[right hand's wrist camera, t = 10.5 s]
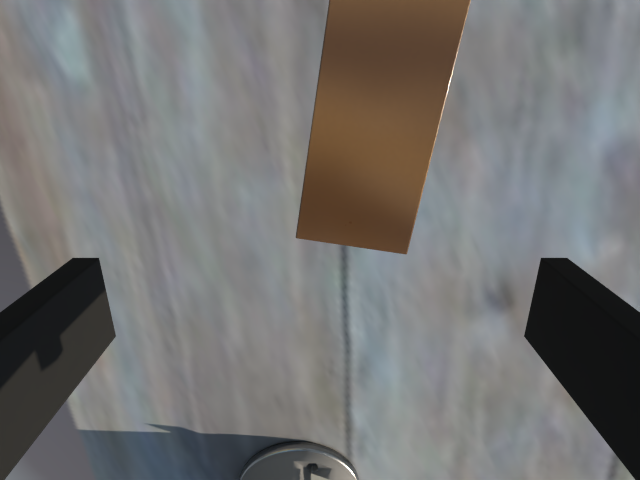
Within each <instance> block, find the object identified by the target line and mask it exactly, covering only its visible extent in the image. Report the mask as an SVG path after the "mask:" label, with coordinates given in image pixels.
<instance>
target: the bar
mask: <svg viewBox="0 0 640 480" xmlns="http://www.w3.org/2000/svg"><path fill="white" fill-rule="evenodd" d="M470 1H471V0H329V7H328V14H327V21H326V28H325V35H324V42H323V49H322V56H321V63H320V70H319V77H318V84H317V91H316V98H315V105H314V112H313V119H312V126H311V133H310V141H309V148H308V155H307V162H306V169H305V176H304V183H303V190H302V197H301V204H300V211H299V218H298V225H297V232H296V238H299V239H306V240H313V241H320V242H326V243H333V244H340V245H347V246H353V247H360V248H367V249H374V250H380V251H387V252H394V253H401V254H407V251H408V247H409V243H410V239H411V235H412V231H413V228H414V224H415V220H416V216H417V212H418V208H419V204H420V200H421V196H422V192H423V188H424V184H425V180H426V176H427V172H428V168H429V164H430V160H431V156H432V152H433V148H434V144H435V140H436V136H437V132H438V128H439V124H440V120H441V116H442V113H443V109H444V105H445V101H446V97H447V93H448V89H449V85H450V81H451V77H452V73H453V69H454V65H455V61H456V57H457V53H458V49H459V45H460V41H461V37H462V33H463V29H464V25H465V21H466V17H467V13H468V9H469V5H470Z"/></svg>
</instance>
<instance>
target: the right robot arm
mask: <svg viewBox="0 0 640 480" xmlns="http://www.w3.org/2000/svg"><path fill="white" fill-rule="evenodd" d="M115 337H116V335H115V330H114V326H113V321H112V317H111V312H110V307H109V303H108V298H107V293H106V289H105V284H104V280H103V275H102V270H101V266H100V261H99V258H72V259H71V260H70V261H68V262H67V263H66V264H64V265H63V266H62V267H60V268H59V269H58V270H56V271H55V272H54V273H52V274H51V275H50V276H48V277H47V278H46V279H44V280H43V281H42V282H40V283H39V284H38V285H36V286H35V287H34V288H32V289H31V290H30V291H28V292H27V293H26V294H24V295H23V296H22V297H20V298H19V299H18V300H16V301H15V302H14V303H12V304H11V305H10V306H8V307H7V308H6V309H4V310H3V311H2V312H0V480H5V478H6V477H7V476H8V474H9V473H10V472H11V471H12V469H13V468H14V467H15V465H16V464H17V463H18V462H19V460H20V459H21V458H22V456H23V455H24V454H25V453H26V451H27V450H28V449H29V447H30V446H31V445H32V444H33V442H34V441H35V440H36V438H37V437H38V436H39V435H40V433H41V432H42V431H43V429H44V428H45V427H46V426H47V424H48V423H49V422H50V420H51V419H52V418H53V417H54V415H55V414H56V413H57V411H58V410H59V409H60V408H61V406H62V405H63V404H64V402H65V401H66V400H67V398H68V397H69V396H70V395H71V393H72V392H73V391H74V389H75V388H76V387H77V386H78V384H79V383H80V382H81V380H82V379H83V378H84V377H85V375H86V374H87V373H88V371H89V370H90V369H91V368H92V366H93V365H94V364H95V362H96V361H97V360H98V359H99V357H100V356H101V355H102V353H103V352H104V351H105V349H106V348H107V347H108V346H109V344H110V343H111V342H112V340H113V339H114V338H115ZM524 337H525V338H526V339H527V340H528V342H529V343H530V344H531V346H532V347H533V348H534V349H535V351H536V352H537V353H538V355H539V356H540V357H541V359H542V360H543V361H544V362H545V364H546V365H547V366H548V368H549V369H550V370H551V371H552V373H553V374H554V375H555V377H556V378H557V379H558V380H559V382H560V383H561V384H562V386H563V387H564V388H565V389H566V391H567V392H568V393H569V395H570V396H571V397H572V398H573V400H574V401H575V402H576V404H577V405H578V406H579V408H580V409H581V410H582V411H583V413H584V414H585V415H586V417H587V418H588V419H589V420H590V422H591V423H592V424H593V426H594V427H595V428H596V429H597V431H598V432H599V433H600V435H601V436H602V437H603V438H604V440H605V441H606V442H607V444H608V445H609V446H610V447H611V449H612V450H613V451H614V453H615V454H616V455H617V456H618V458H619V459H620V460H621V462H622V463H623V464H624V466H625V467H626V468H627V469H628V471H629V472H630V473H631V475H632V476H633V477H634V478H635V480H640V312H638V311H637V310H636V309H634V308H633V307H632V306H630V305H629V304H628V303H626V302H625V301H624V300H622V299H621V298H620V297H618V296H617V295H616V294H614V293H613V292H612V291H610V290H609V289H608V288H606V287H605V286H604V285H602V284H601V283H600V282H598V281H597V280H596V279H594V278H593V277H592V276H590V275H589V274H588V273H586V272H585V271H584V270H582V269H581V268H580V267H578V266H577V265H576V264H574V263H573V262H572V261H570V260H569V259H568V258H541V261H540V266H539V270H538V275H537V280H536V284H535V289H534V293H533V298H532V303H531V307H530V312H529V316H528V321H527V326H526V330H525V335H524ZM240 480H359V479H358V475H357V473H356V471H355V469H354V467H353V466H352V464H351V463H350V462H349V461H348V460H347V459H346V458H345V457H344V456H342V455H341V454H340V453H338V452H336V451H335V450H333V449H330V448H328V447H325V446H322V445H319V444H315V443H309V442H288V443H282V444H277V445H274V446H271V447H269V448H266V449H264V450H262V451H261V452H259V453H257V454H256V455H255V456H253V457H252V458H251V459H250V460H249V461H248V462H247V464H246V465H245V467H244V468H243V470H242V473H241V476H240Z"/></svg>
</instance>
